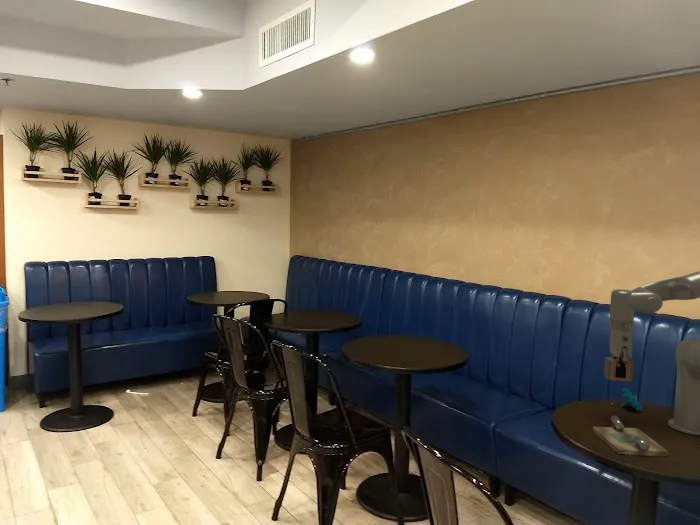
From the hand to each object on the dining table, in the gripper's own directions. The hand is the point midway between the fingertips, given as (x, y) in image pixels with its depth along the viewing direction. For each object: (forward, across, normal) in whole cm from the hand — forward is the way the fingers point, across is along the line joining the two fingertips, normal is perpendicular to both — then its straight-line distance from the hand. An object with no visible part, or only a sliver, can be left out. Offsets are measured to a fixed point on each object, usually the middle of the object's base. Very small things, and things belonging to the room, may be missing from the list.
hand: (618, 375), depth 185 cm
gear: (+18, +17, -11) cm, 27 cm away
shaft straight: (+15, -25, 0) cm, 29 cm away
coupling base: (+17, -18, +1) cm, 25 cm away
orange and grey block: (+1, 0, 0) cm, 1 cm away
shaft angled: (+16, -10, +2) cm, 19 cm away
